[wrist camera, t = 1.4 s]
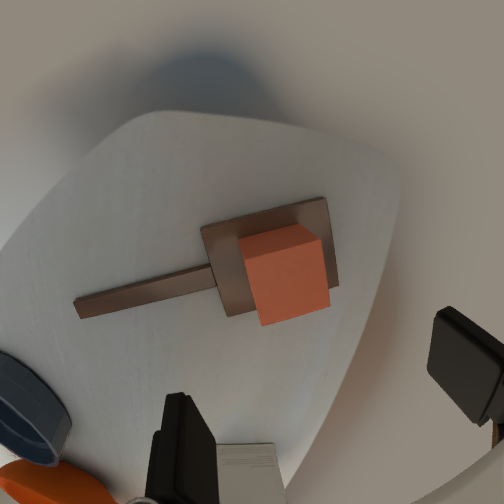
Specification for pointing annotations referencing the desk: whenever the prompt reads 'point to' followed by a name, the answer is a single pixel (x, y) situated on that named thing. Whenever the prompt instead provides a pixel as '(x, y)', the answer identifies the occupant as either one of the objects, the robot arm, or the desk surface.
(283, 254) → the block
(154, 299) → the brown paddle
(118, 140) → the desk surface
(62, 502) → the bowl
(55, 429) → the faceted gray tray
